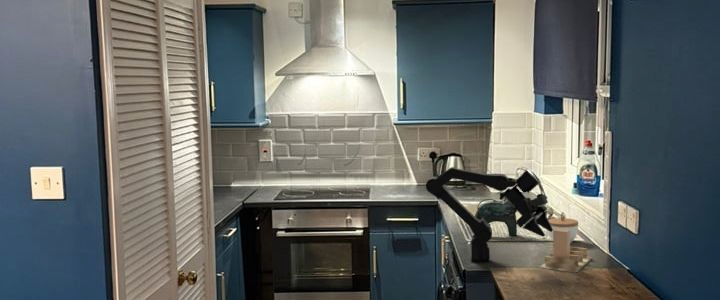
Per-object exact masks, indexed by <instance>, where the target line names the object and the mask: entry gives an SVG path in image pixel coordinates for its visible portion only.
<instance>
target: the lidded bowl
mask: <svg viewBox="0 0 720 300" xmlns="http://www.w3.org/2000/svg"><path fill="white" fill-rule="evenodd" d="M548 221H549V223H550V225H551V227H552V229H553V230H555V229H564V230H570V244H572V243H573V241H574V240H575V239H576V238H577V235H578V231H579V221H578V220H576V219H573V218H566V217H565V216H563V215H562V216H561V217H556V218H554V217H553V218H549V219H548ZM547 234H548V237H549V238H550V239H551V241H553V231H552V232H550V231H548V230H547Z"/></svg>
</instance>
